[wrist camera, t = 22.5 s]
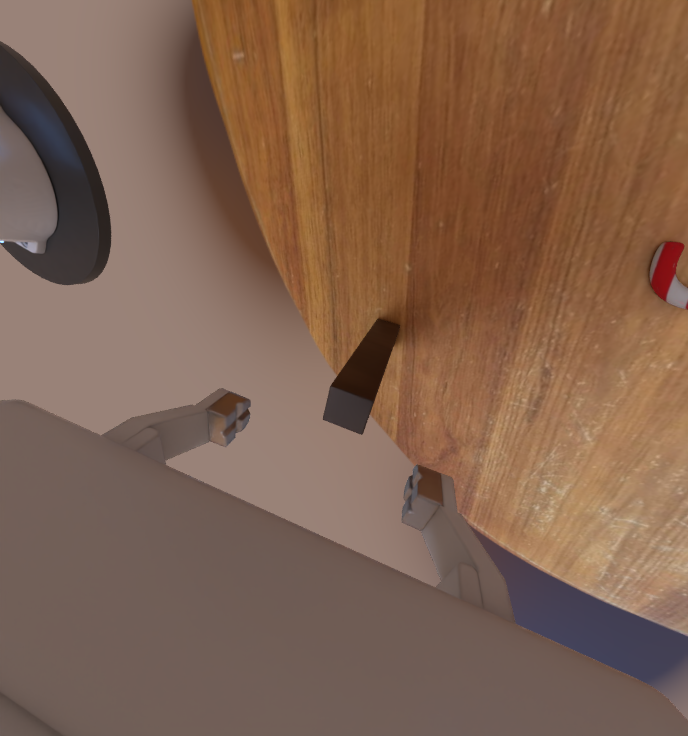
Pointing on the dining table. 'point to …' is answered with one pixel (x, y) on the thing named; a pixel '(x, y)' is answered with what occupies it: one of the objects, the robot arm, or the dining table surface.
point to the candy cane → (668, 275)
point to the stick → (361, 378)
